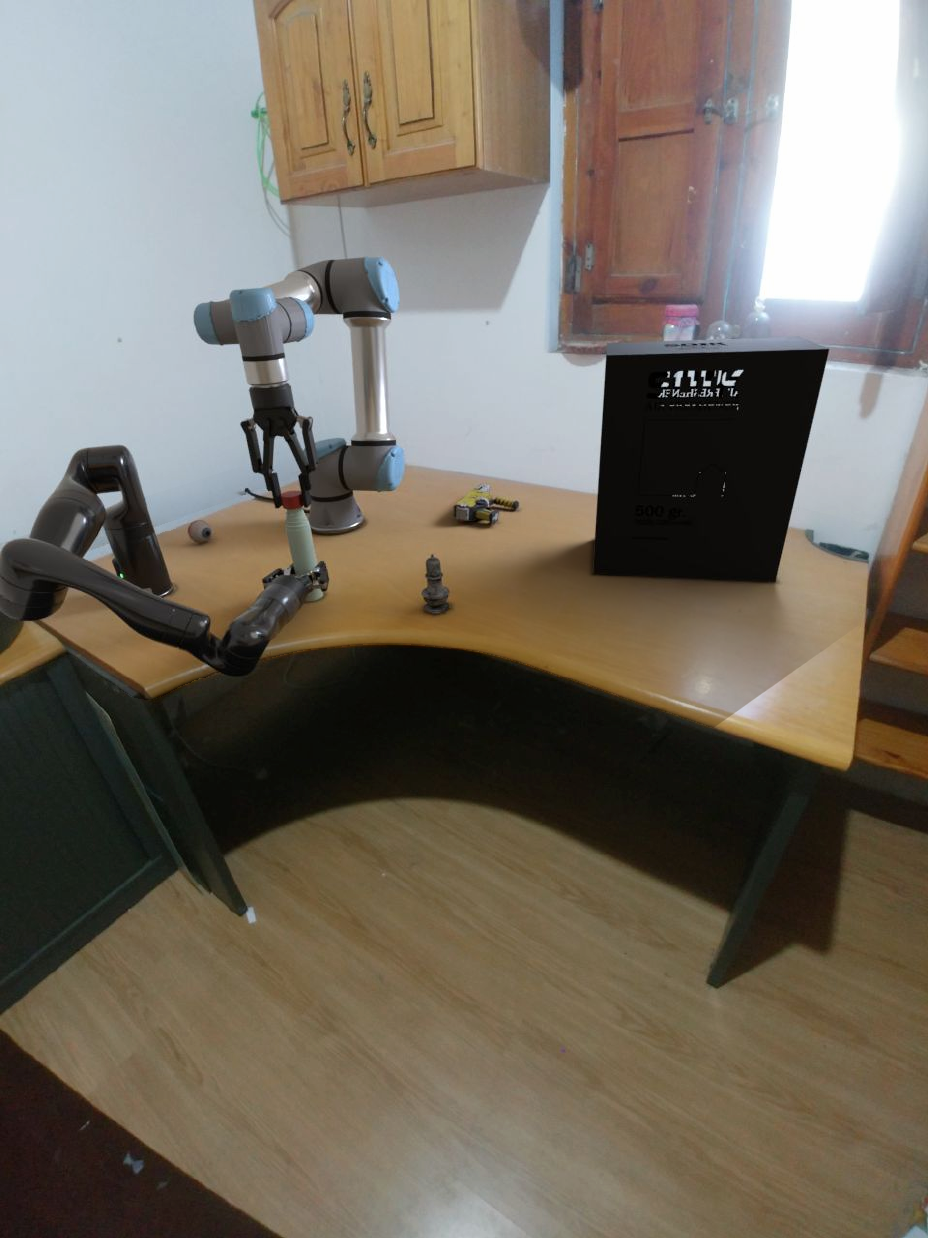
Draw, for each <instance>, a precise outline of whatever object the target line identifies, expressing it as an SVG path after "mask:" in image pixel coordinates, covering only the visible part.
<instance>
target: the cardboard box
mask: <svg viewBox="0 0 928 1238" xmlns="http://www.w3.org/2000/svg"><path fill="white" fill-rule="evenodd" d="M605 351H606V352H605V367H604V369H605V370H604V383H603V384H604V385H603V399H602V400H603V401H602V415H601V431H600V433H601V434H600V448H599V465H598V481H597V497H596V511H595V512H596V514H595V529H594V531H595V532H594V547H593V548H594V550H593V566H592V575H608V576H628V577H629V576H631V577H654V578H655V577H656V578H675V579H676V578H677V579H678V578H679V579H701V580H702V579H703V580H724V581H725V580H726V581H747V582H770V583H776V582H777V577H778V573H779V568H780V565H781V560H782V556H783V552H784V547H785V543H786V538H787V534H788V531H789V530H788V529H789V525H790V521H791V518H792V517H791V516H792V514H793V513H792V512H793V508H794V504H795V500H796V496H797V491H798V488H799V482H800V477H801V474H802V470H803V465H804V460H805V456H806V453H807V448H808V444H809V440H810V435H811V431H812V427H813V422H814V418H815V414H816V409H817V405H818V400H819V397H820V391H821V387H822V383H823V380H824V379H823V378H824V375H825V370H826V366H827V363H828V362H827V361H828V358H829V353H830V348H828V347H826V346H824V345H820V344H819V343H815V342H813V341H811V340H808V339H805V338H803V337H800V336H780V337H778V336H775V337H749V338H748V337H747V338H745V337H744V338H721V339H720V338H717V339H716V338H715V339H689V340H688V339H687V340H684V339H683V340H657V341H655V340H654V341H628V342H627V341H626V342H624V341H623V342H607V343H606V349H605ZM720 371H721V372H720ZM737 371H742V372H740V374H739V375H734V374H735V373H736V372H737ZM678 372H682V376H681V377H680V382H679V385H677V386H676V382H677V377H676V374H677V373H678ZM689 372H694V373H693V382H695V385H691V384H692V376H689ZM702 372H705V375H704V376H702V374H703V373H702ZM719 375H720V379H719ZM724 375H725V377H724ZM723 378H724V382H734V383H733V385H725V384H723ZM705 382H710V385H704V384H705ZM664 383H665V384H666V383H667V386H663V385H664Z"/></svg>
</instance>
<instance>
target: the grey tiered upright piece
mask: <svg viewBox="0 0 928 1238" xmlns="http://www.w3.org/2000/svg"><path fill="white" fill-rule="evenodd" d="M425 570H426V573H425V575H424V578H426V587H424V588H423V589H422V590H421V591H420V595H421V596H422V598H423V600H424V602H425V604H424V606H423V610H424V611H425V612H426V613H429V614H442V613H445V612H447V611H448V610H449V609H450V604H449V603H448V599H449V595H450V593H451V590H450V589H449V588H448V586H445V585H443V576H444V573H443V572H442V568H441V560H440V559H439V558H438V557H435V555H434V554H433V553H432V554H431V555H430V557H429V558H427V559H426V561H425Z"/></svg>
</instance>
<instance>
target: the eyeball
mask: <svg viewBox="0 0 928 1238" xmlns="http://www.w3.org/2000/svg"><path fill="white" fill-rule="evenodd" d="M187 534H188V537H189V538H190V539H191V540H192V541H193V542H196V543H198V544H199V543H201V544H202V543H207V542H208V541H209V540H211V538H212V536H213V527H212V526H211V524H210V523H209V522H207V521H205V520H201V519H197V520H193V521H192V522H191V523H190V524H189V525H188V527H187Z"/></svg>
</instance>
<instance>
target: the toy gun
mask: <svg viewBox="0 0 928 1238" xmlns="http://www.w3.org/2000/svg"><path fill="white" fill-rule="evenodd" d="M493 505H495V506H500V507H504V508H510V509H512V510H514V511H516V510H518V509H519V507H520V502H519V501H518V500H512V499H508V498H504V497H500V496H496V497H495V498H493V496H492V494H491V485H490V484H488V483H486V484H485V483H482V482H481V483H480V484H479V485H477V486H476V487H475V488H473V489H471V491H469V492H468V493H467V494H465V496H464V497H462V498H461V499H460V500H459V501H458V502H456V503H455V504H454V505H453V511H452V513H453V514H452V517H453V518H454V519H455V520H457V522H462V523H464V522H465V521H467V522H471V521H477V520H482V521H483V520H484V521H486V522H489V525H492V526H493V524H495V523H497V522H498V521H499V515H500V509H498V508H494V510H493V509H492V507H491V506H493Z"/></svg>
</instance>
